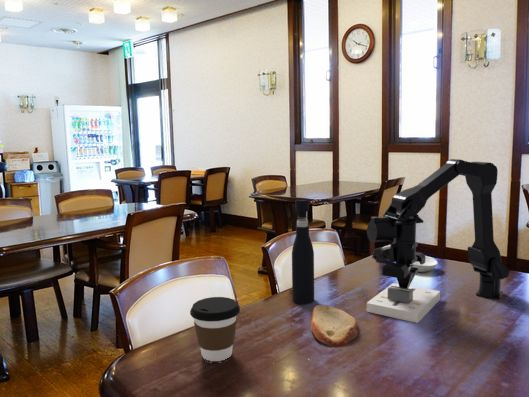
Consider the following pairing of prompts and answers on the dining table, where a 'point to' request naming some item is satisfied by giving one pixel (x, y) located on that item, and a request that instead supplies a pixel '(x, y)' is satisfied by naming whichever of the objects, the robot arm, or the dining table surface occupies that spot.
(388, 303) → the console
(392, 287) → the fader
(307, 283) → the black bottle
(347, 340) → the slice of bread
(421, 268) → the spoon rest
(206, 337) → the coffee cup
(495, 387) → the dining table surface
